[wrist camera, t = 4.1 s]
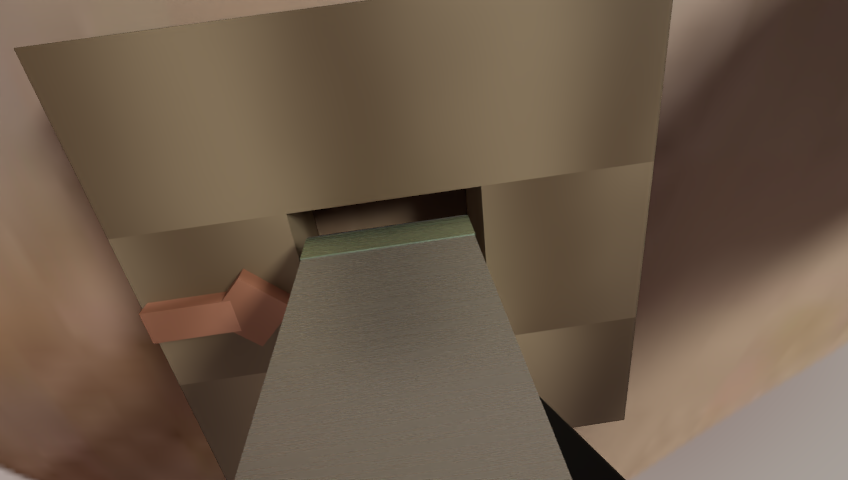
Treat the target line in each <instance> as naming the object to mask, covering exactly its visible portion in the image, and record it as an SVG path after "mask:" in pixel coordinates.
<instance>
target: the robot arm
mask: <svg viewBox="0 0 848 480" xmlns="http://www.w3.org/2000/svg"><path fill="white" fill-rule="evenodd" d="M539 397H540V396H539ZM540 400H541V402H542V405H543V407H544V410H545V412H546V415H547V417H548V420H549V422H550V425H551V427H552V430H553V432H554V435H555V437H556V440H557V442H558V445H559V447H560V450H561V453H562V455H563V458H564V460H565V463H566V465H567V468H568V470H569V473H570V475H571V478H572V480H625V479H624V478H623V477H622V476H621V475H620V474H619V473H618V472H617V471H616V470H615V469H614V468H613V467H612V466H611V465H610V464H609V463H608V462H607V461H606V460H605V459H604V458H603V457H602V456H601V455H600V454H599V453H597V452H596V451H595V450H594V449H593V448H592V447H591V446H590V445H589V444H588V443H587V442H586V441H585V440H584V439H583V438H582V437H581V436H580V435H579V434H578V433H577V432H576V431H575V430H574V429H573V428H572V427H571V426H570V425H569V424H568V423H567V422H566V421H565V420H564V419H562V418H561V417H560V416H559V415H558V414H557V413H556V412H555V411H554V410H553V409H552V408H551V407H550V406H549V405H548V404H547V403H546V402H545V401H544V400H543V399H542V398H541V397H540Z"/></svg>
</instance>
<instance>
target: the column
mask: <svg viewBox="0 0 848 480" xmlns="http://www.w3.org/2000/svg"><path fill="white" fill-rule="evenodd" d="M300 260H301V261H300V265H299V268H298V271H297V274H296V278H295V281H294V284H293V288H292V291H291V294H290V298H289V301H288V304H287V307H286V311H285V314H284V317H283V321H282V324H281V327H280V331H279V334H278V337H277V340H276V344H275V347H274V350H273V354H272V357H271V360H270V364H269V367H268V370H267V374H266V377H265V380H264V383H263V387H262V390H261V393H260V397H259V400H258V403H257V407H256V410H255V413H254V416H253V420H252V423H251V426H250V430H249V433H248V436H247V440H246V443H245V446H244V449H243V453H242V456H241V459H240V463H239V466H238V469H237V473H236V476H235V479H234V480H572V478H571V475H570V473H569V470H568V468H567V465H566V463H565V460H564V458H563V455H562V453H561V450H560V447H559V445H558V442H557V440H556V437H555V435H554V432H553V430H552V427H551V425H550V422H549V420H548V417H547V415H546V412H545V410H544V407H543V405H542V402H541V400H540V397H539V395H538V392H537V390H536V387H535V385H534V382H533V380H532V377H531V375H530V372H529V370H528V367H527V365H526V362H525V360H524V357H523V355H522V352H521V350H520V347H519V345H518V342H517V340H516V337H515V335H514V332H513V330H512V327H511V325H510V322H509V320H508V317H507V315H506V312H505V310H504V307H503V305H502V302H501V300H500V297H499V295H498V292H497V290H496V287H495V285H494V282H493V280H492V277H491V275H490V272H489V270H488V267H487V265H486V262H485V260H484V257H483V255H482V252H481V250H480V247H479V245H478V242H477V240H476V237H475V232H474V229H473V227H472V224H471V222H470V219H469V217H468V215H460V216H453V217H446V218H439V219H432V220H425V221H418V222H411V223H404V224H397V225H391V226H384V227H377V228H370V229H363V230H356V231H349V232H342V233H335V234H328V235H321V236H314V237H308V238H307V239H306V241H305V244H304V247H303V251H302V254H301V257H300Z"/></svg>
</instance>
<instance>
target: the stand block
mask: <svg viewBox="0 0 848 480" xmlns="http://www.w3.org/2000/svg"><path fill="white" fill-rule="evenodd" d="M672 3H673V0H366V1H359V2H352V3H344V4H337V5H329V6H322V7H314V8H307V9H300V10H292V11H285V12H277V13H270V14H262V15H255V16H248V17H240V18H233V19H225V20H218V21H211V22H203V23H196V24H188V25H181V26H173V27H166V28H159V29H151V30H144V31H136V32H129V33H122V34H114V35H107V36H99V37H92V38H85V39H77V40H70V41H62V42H55V43H48V44H40V45H33V46H26V47H18V48H14V50H15V52H16V54H17V56H18V58H19V60H20V62H21V64H22V66H23V68H24V70H25V72H26V74H27V76H28V78H29V81H30V83H31V85H32V87H33V89H34V91H35V93H36V95H37V97H38V99H39V101H40V103H41V105H42V107H43V109H44V111H45V113H46V115H47V117H48V119H49V121H50V123H51V125H52V127H53V129H54V131H55V133H56V135H57V137H58V139H59V141H60V143H61V145H62V147H63V149H64V151H65V154H66V156H67V158H68V160H69V162H70V164H71V166H72V168H73V170H74V172H75V174H76V176H77V178H78V180H79V182H80V184H81V186H82V188H83V190H84V192H85V194H86V196H87V198H88V200H89V202H90V204H91V206H92V208H93V210H94V212H95V214H96V216H97V218H98V220H99V222H100V224H101V227H102V229H103V231H104V233H105V235H106V237H107V239H108V241H109V243H110V245H111V247H112V249H113V251H114V253H115V255H116V257H117V259H118V261H119V263H120V265H121V267H122V269H123V271H124V273H125V275H126V277H127V279H128V281H129V283H130V285H131V287H132V289H133V291H134V293H135V295H136V297H137V300H138V302H139V304H140V306H141V308H142V311H141V312H140V313H139V316H140V318H141V320H142V322H143V324H144V326H145V328H146V330H147V332H148V334H149V336H150V338H151V340H152V342H153V344H156V343H159V344H160V346H161V348H162V350H163V352H164V354H165V356H166V358H167V360H168V362H169V364H170V366H171V368H172V370H173V373H174V375H175V377H176V379H177V381H178V383H179V385H180V387H181V389H182V391H183V393H184V395H185V397H186V399H187V401H188V403H189V405H190V407H191V409H192V411H193V413H194V415H195V417H196V419H197V421H198V423H199V425H200V427H201V429H202V431H203V433H204V435H205V437H206V439H207V441H208V444H209V446H210V448H211V450H212V452H213V454H214V456H215V458H216V460H217V462H218V464H219V466H220V468H221V470H222V472H223V474H224V476H225V478H226V480H234V479H235V476H236V473H237V469H238V466H239V463H240V459H241V456H242V453H243V449H244V446H245V443H246V440H247V436H248V433H249V430H250V426H251V423H252V420H253V416H254V413H255V410H256V407H257V403H258V400H259V397H260V393H261V390H262V387H263V383H264V380H265V377H266V374H267V370H268V367H269V364H270V360H271V357H272V354H273V350H274V347H275V344H276V340H277V337H278V334H279V331H280V327H281V324H282V321H283V317H284V314H285V311H286V307H287V304H288V301H289V298H290V294H291V291H292V288H293V284H294V281H295V278H296V274H297V271H298V268H299V265H300V261H301V260H300V257H301V254H302V251H303V247H304V244H305V241H306V239H307V238H308V237H314V236H319V234H318V230H317V226H316V222H315V218H314V215H313V211H312V210H318V209H325V208H332V207H339V206H346V205H353V204H360V203H367V202H374V201H381V200H388V199H395V198H402V197H409V196H416V195H423V194H430V193H437V192H444V191H451V190H458V189H465V188H466V197H467V209H468V217H469V219H470V222H471V224H472V227H473V229H474V232H475V237H476V240H477V242H478V245H479V247H480V250H481V252H482V255H483V257H484V260H485V262H486V265H487V267H488V270H489V272H490V275H491V277H492V280H493V282H494V285H495V287H496V290H497V292H498V295H499V297H500V300H501V302H502V305H503V307H504V310H505V312H506V315H507V317H508V320H509V322H510V325H511V327H512V330H513V332H514V335H515V337H516V340H517V342H518V345H519V347H520V350H521V352H522V355H523V357H524V360H525V362H526V365H527V367H528V370H529V372H530V375H531V377H532V380H533V382H534V385H535V387H536V390H537V392H538V395H539V396H540V397H541V398H542V399H543V400H544V401H545V402H546V403H547V404H548V405H549V406H550V407H551V408H552V409H553V410H554V411H555V412H556V413H557V414H558V415H559V416H560V417H561V418H562V419H564V420H565V421H566V422H567V423H568V424H569V425H570V426H571V427H572V428H573V427H580V426H587V425H593V424H600V423H606V422H613V421H619V420H624V417H625V408H626V400H627V391H628V382H629V374H630V365H631V357H632V348H633V339H634V331H635V322H636V313H637V305H638V296H639V288H640V279H641V270H642V262H643V253H644V244H645V236H646V227H647V219H648V210H649V201H650V193H651V184H652V175H653V167H654V158H655V150H656V141H657V132H658V124H659V115H660V106H661V98H662V89H663V81H664V72H665V63H666V55H667V46H668V37H669V29H670V20H671V12H672Z"/></svg>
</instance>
